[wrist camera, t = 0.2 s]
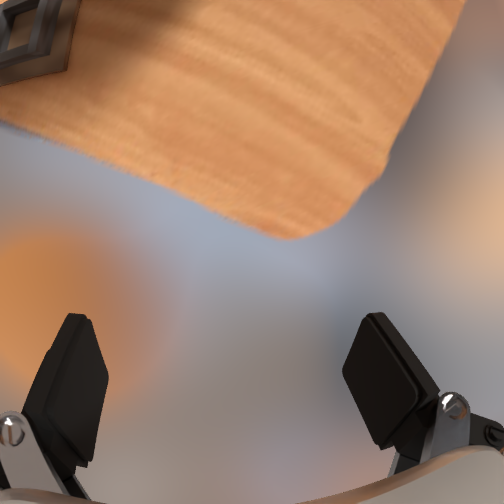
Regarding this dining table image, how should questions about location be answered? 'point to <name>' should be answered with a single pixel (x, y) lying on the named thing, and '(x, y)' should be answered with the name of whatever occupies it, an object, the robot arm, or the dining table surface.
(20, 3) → the collar base
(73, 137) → the dining table surface
